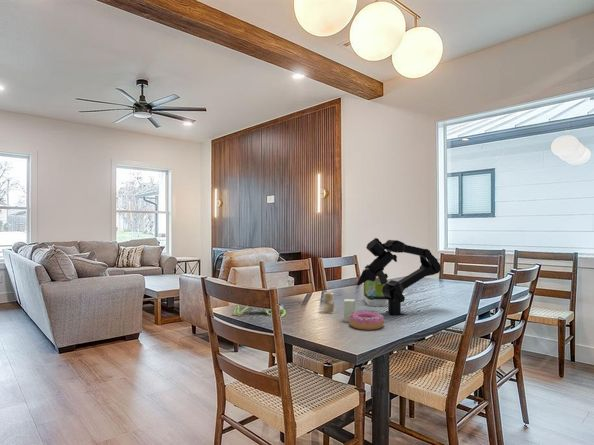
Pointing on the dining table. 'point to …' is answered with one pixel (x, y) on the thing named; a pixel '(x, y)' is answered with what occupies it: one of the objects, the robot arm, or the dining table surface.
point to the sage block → (348, 308)
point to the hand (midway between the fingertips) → (357, 284)
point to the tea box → (374, 293)
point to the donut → (366, 320)
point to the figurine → (261, 309)
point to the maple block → (328, 302)
